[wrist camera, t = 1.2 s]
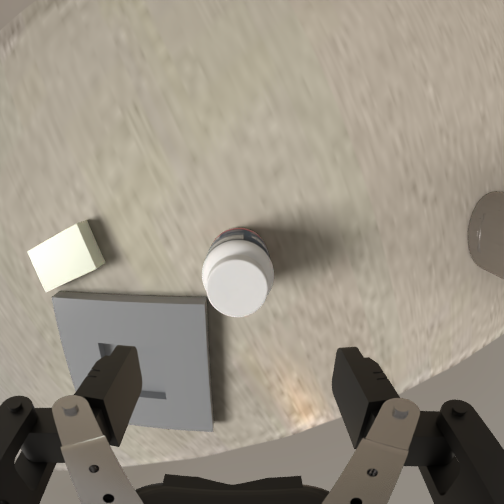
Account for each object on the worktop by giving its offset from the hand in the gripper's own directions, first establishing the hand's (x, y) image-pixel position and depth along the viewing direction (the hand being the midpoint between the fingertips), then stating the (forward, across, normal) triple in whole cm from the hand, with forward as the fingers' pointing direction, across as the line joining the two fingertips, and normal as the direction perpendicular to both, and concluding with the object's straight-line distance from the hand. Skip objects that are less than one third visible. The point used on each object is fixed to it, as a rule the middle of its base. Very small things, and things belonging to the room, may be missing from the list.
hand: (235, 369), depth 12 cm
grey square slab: (+18, +11, +12) cm, 24 cm away
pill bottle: (+18, 0, 0) cm, 18 cm away
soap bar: (+18, +17, 0) cm, 25 cm away
